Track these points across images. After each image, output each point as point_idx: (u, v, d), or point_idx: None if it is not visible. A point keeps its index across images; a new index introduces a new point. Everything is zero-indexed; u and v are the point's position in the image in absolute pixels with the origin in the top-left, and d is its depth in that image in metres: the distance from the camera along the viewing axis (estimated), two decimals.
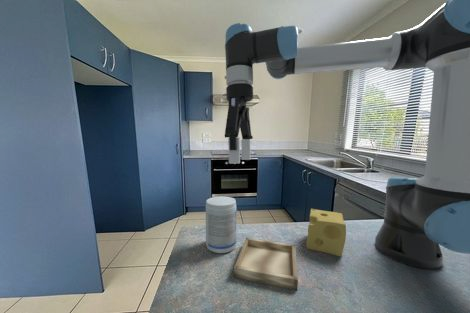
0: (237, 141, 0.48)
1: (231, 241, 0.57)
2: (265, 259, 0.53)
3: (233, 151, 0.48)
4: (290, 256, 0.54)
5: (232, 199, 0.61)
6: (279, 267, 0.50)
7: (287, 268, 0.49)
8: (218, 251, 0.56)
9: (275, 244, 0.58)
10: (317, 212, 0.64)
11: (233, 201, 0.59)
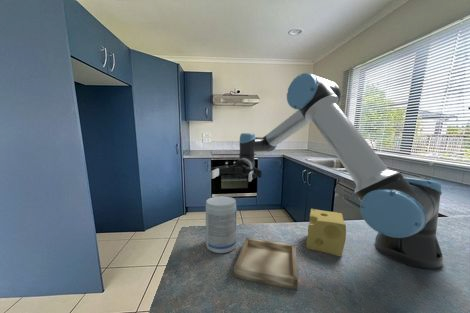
0: None
1: (231, 241, 0.57)
2: (265, 259, 0.53)
3: None
4: (290, 256, 0.54)
5: (232, 199, 0.61)
6: (279, 267, 0.50)
7: (287, 268, 0.49)
8: (218, 251, 0.56)
9: (275, 244, 0.58)
10: (317, 212, 0.64)
11: (233, 201, 0.59)
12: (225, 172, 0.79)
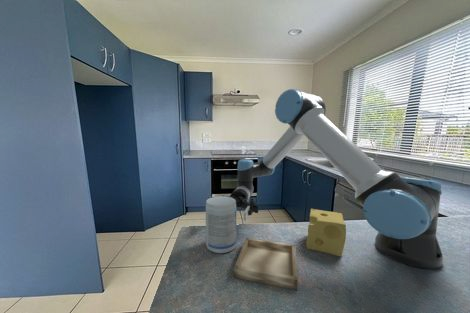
0: None
1: (231, 241, 0.57)
2: (265, 259, 0.53)
3: None
4: (290, 256, 0.54)
5: (232, 199, 0.61)
6: (279, 267, 0.50)
7: (287, 268, 0.49)
8: (218, 251, 0.56)
9: (275, 244, 0.58)
10: (317, 212, 0.64)
11: (233, 201, 0.59)
12: None
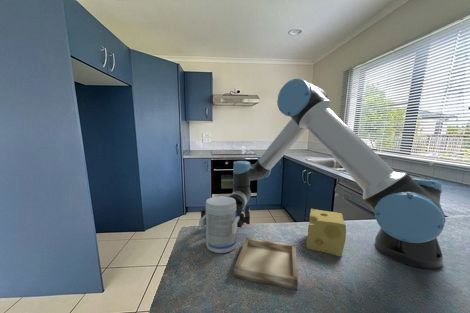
0: None
1: (231, 241, 0.57)
2: (265, 259, 0.53)
3: None
4: (290, 256, 0.54)
5: (232, 199, 0.61)
6: (279, 267, 0.50)
7: (287, 268, 0.49)
8: (218, 251, 0.56)
9: (275, 244, 0.58)
10: (317, 212, 0.64)
11: (233, 201, 0.59)
12: None
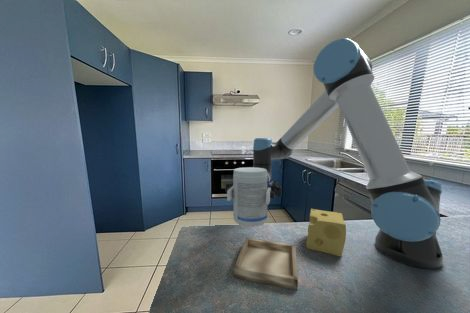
0: None
1: (263, 213, 0.51)
2: (265, 259, 0.53)
3: None
4: (290, 256, 0.54)
5: (262, 168, 0.55)
6: (279, 267, 0.50)
7: (287, 268, 0.49)
8: (250, 224, 0.50)
9: (275, 244, 0.58)
10: (317, 212, 0.64)
11: (264, 169, 0.53)
12: None
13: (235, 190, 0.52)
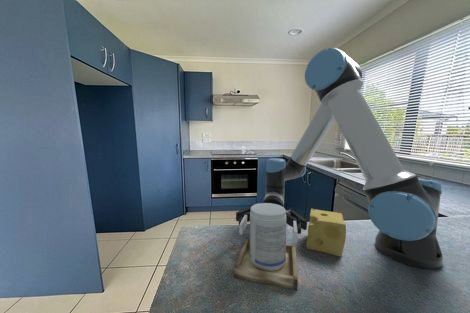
0: None
1: (282, 256, 0.49)
2: None
3: None
4: (290, 256, 0.54)
5: (280, 206, 0.52)
6: None
7: (287, 268, 0.49)
8: (268, 269, 0.48)
9: None
10: (317, 212, 0.64)
11: (283, 209, 0.50)
12: None
13: (252, 231, 0.49)
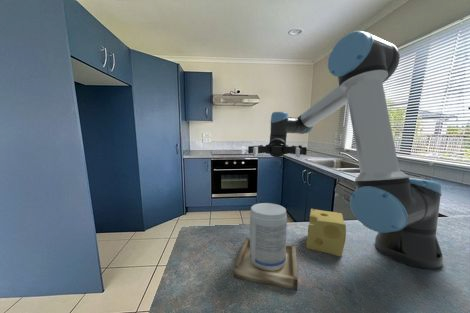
0: None
1: (282, 256, 0.49)
2: None
3: None
4: (290, 256, 0.54)
5: (280, 207, 0.52)
6: None
7: (287, 268, 0.49)
8: (268, 269, 0.48)
9: None
10: (317, 212, 0.64)
11: (283, 209, 0.50)
12: (263, 151, 0.71)
13: (253, 231, 0.49)
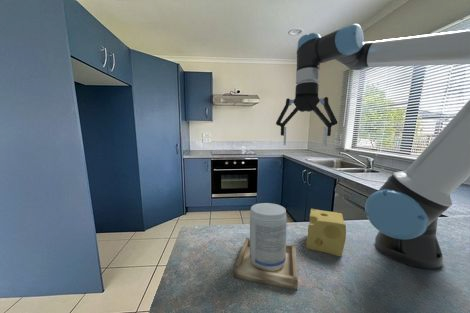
0: (284, 129, 0.69)
1: (282, 256, 0.49)
2: None
3: None
4: (290, 256, 0.54)
5: (280, 207, 0.52)
6: None
7: (287, 268, 0.49)
8: (268, 269, 0.48)
9: None
10: (317, 212, 0.64)
11: (283, 209, 0.50)
12: None
13: (253, 231, 0.49)
